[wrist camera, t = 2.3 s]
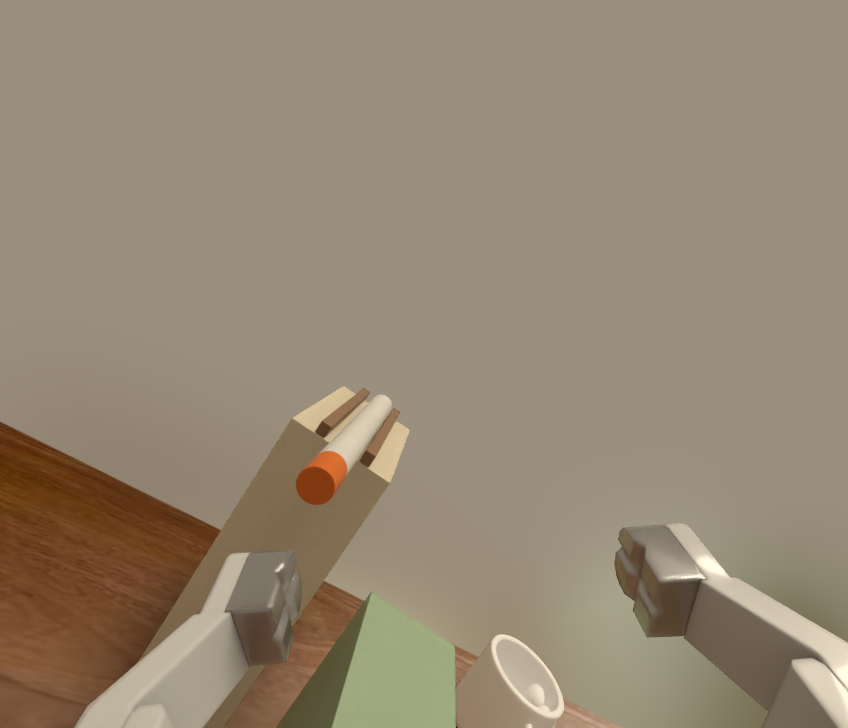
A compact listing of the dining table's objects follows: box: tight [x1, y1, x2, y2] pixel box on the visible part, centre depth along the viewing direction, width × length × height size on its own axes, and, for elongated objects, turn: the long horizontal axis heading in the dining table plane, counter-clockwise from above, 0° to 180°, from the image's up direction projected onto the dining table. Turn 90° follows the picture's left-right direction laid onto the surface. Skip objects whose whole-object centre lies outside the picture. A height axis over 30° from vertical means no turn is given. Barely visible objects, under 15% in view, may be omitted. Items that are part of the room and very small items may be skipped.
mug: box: [455, 635, 564, 728], centre depth 48 cm, size 12×10×9 cm
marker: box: [296, 395, 392, 505], centre depth 31 cm, size 2×20×2 cm, turn 176°
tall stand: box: [138, 386, 410, 728], centre depth 38 cm, size 8×14×27 cm, turn 176°
